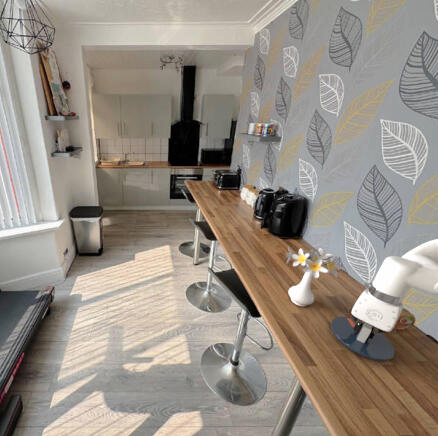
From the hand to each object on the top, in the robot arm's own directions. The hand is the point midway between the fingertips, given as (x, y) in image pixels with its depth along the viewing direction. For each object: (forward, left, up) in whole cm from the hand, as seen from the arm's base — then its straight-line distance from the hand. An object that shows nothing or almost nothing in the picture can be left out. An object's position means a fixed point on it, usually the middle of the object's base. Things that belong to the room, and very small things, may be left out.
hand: (361, 335), depth 81 cm
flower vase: (+16, -14, -3) cm, 22 cm away
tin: (-13, -13, -3) cm, 18 cm away
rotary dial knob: (0, 0, -1) cm, 1 cm away
